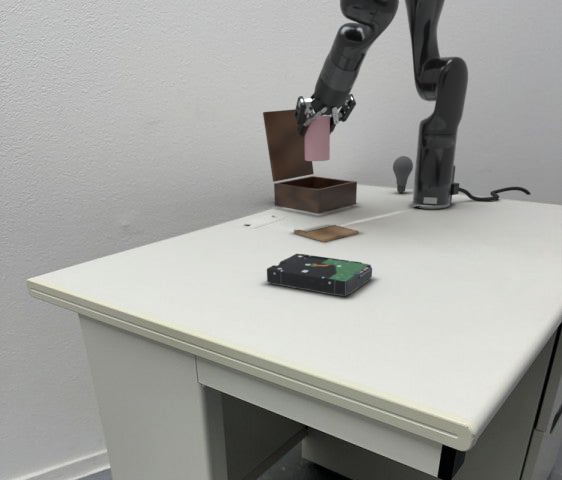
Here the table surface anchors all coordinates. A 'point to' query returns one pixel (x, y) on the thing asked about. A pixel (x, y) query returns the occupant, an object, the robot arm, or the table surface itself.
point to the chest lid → (285, 146)
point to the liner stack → (318, 139)
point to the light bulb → (402, 171)
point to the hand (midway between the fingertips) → (314, 132)
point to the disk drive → (320, 274)
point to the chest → (315, 194)
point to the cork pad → (327, 233)
